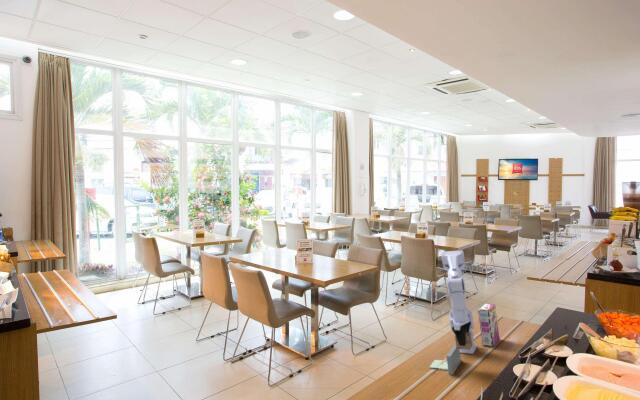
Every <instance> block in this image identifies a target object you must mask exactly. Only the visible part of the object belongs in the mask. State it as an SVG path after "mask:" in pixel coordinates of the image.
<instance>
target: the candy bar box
mask: <svg viewBox="0 0 640 400" xmlns="http://www.w3.org/2000/svg"><path fill="white" fill-rule="evenodd" d="M496 308H497V307H496V304H495V303H494V304H492V303H484V304H482V306H481V307H479V308H478V309H477V310H478V311H477V313H478V319H479V320H478V321H479V326H480V328H479V329H480V336H481V342H482V346H483V347H490V346H493V347H494V346H495V345H496V344H497V343H496V342H498V341H499V340H500V330H499V325H498V315H497V309H496ZM495 343H496V344H495Z"/></svg>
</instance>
